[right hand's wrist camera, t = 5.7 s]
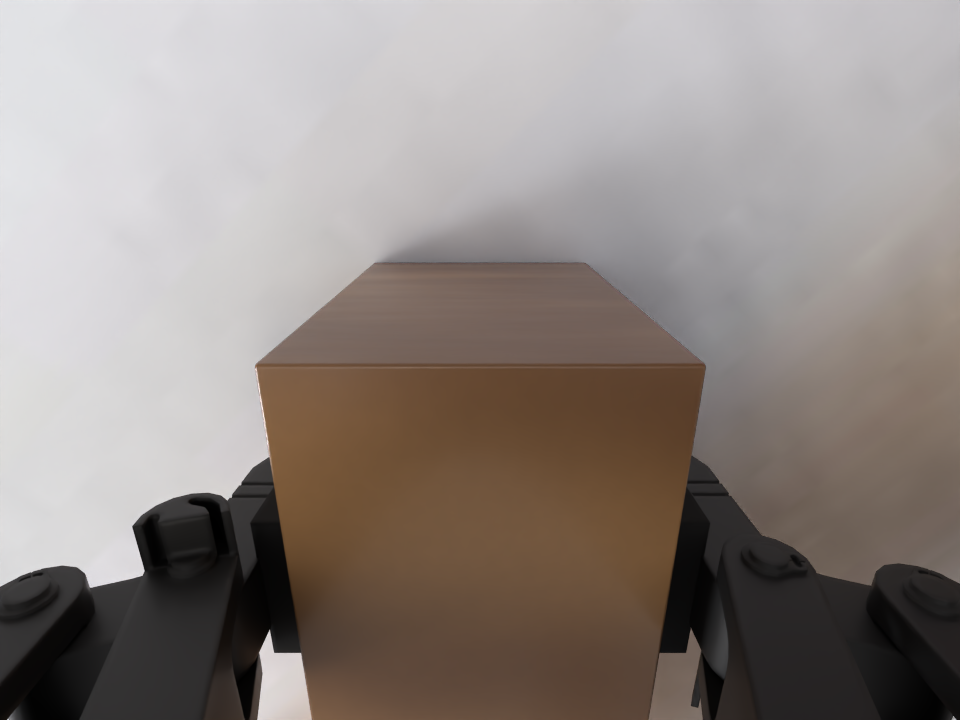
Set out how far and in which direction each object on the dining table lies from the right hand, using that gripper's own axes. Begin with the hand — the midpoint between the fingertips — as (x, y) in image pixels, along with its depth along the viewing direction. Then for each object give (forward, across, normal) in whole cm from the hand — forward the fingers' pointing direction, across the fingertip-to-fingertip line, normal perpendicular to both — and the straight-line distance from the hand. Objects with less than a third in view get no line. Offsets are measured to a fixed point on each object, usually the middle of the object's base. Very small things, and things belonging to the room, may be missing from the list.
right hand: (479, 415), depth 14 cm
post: (+1, 0, -25) cm, 25 cm away
